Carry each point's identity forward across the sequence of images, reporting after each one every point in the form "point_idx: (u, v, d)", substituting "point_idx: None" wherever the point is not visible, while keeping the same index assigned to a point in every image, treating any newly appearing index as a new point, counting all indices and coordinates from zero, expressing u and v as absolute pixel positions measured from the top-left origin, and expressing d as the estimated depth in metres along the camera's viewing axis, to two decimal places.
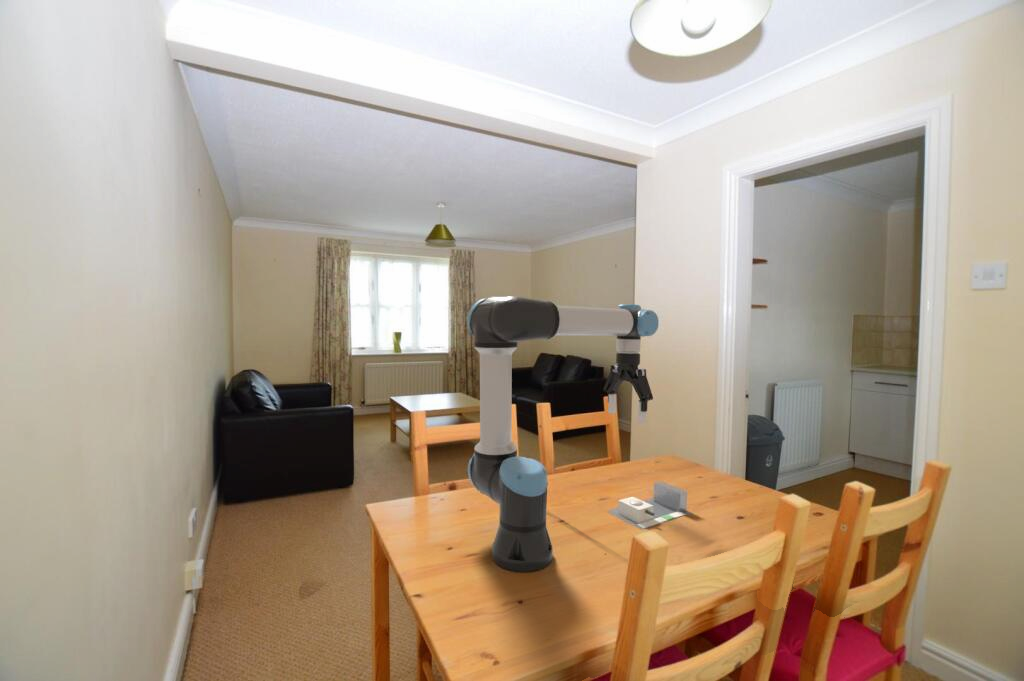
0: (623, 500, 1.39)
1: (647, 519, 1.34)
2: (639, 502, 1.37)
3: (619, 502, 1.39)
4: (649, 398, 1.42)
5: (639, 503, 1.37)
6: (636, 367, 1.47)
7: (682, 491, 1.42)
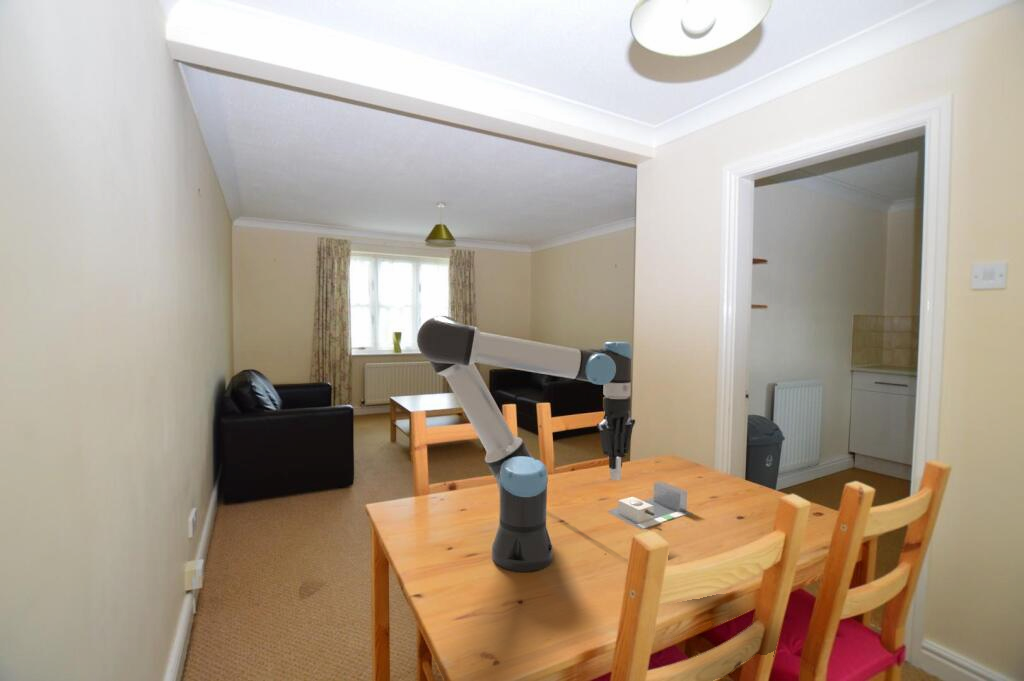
0: (623, 500, 1.39)
1: (647, 519, 1.34)
2: (639, 502, 1.37)
3: (619, 502, 1.39)
4: (605, 453, 1.30)
5: (639, 503, 1.37)
6: (607, 414, 1.29)
7: (682, 491, 1.42)
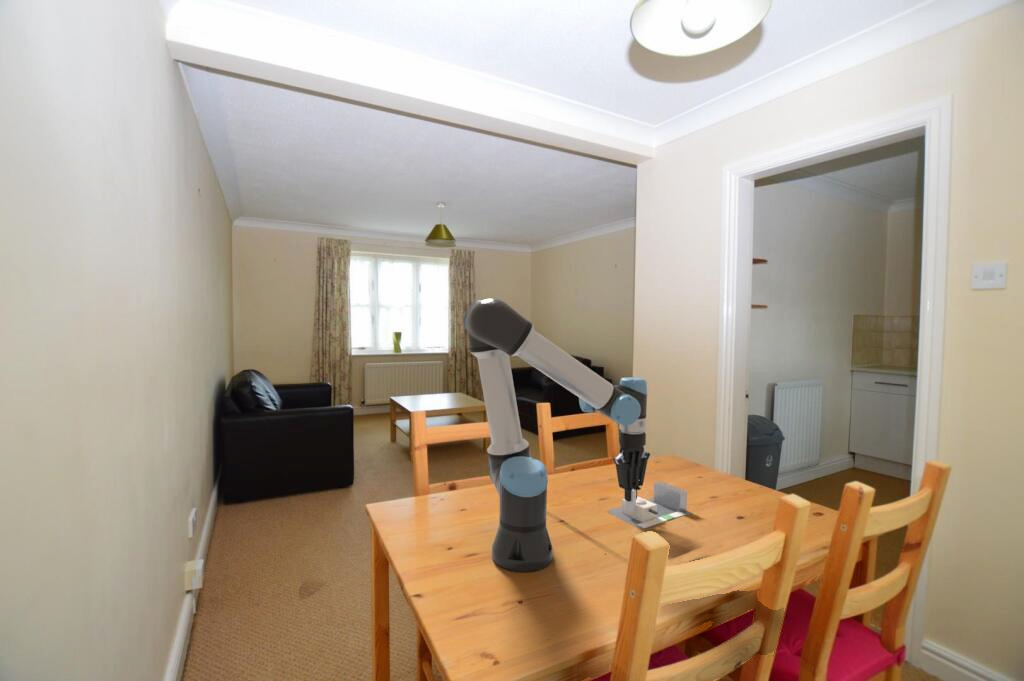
0: None
1: (650, 518, 1.35)
2: (643, 501, 1.38)
3: (623, 501, 1.39)
4: (621, 486, 1.34)
5: (642, 502, 1.37)
6: (623, 448, 1.33)
7: (682, 491, 1.42)
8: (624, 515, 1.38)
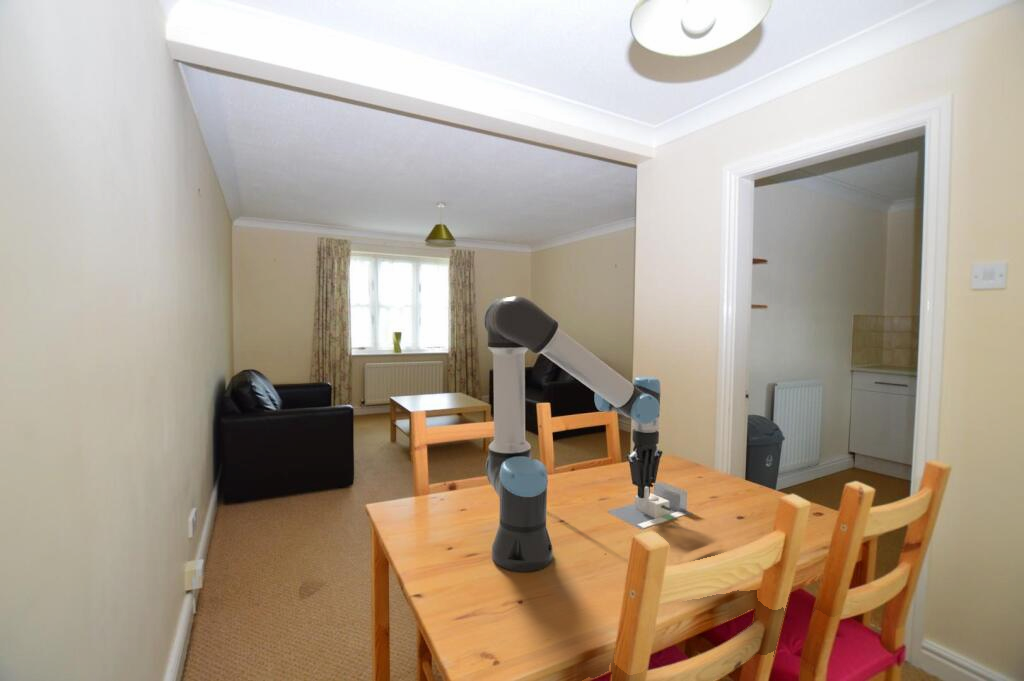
0: None
1: (663, 514, 1.38)
2: (655, 497, 1.41)
3: (636, 497, 1.42)
4: (634, 483, 1.37)
5: (655, 498, 1.40)
6: (636, 446, 1.36)
7: (682, 491, 1.42)
8: (624, 515, 1.38)
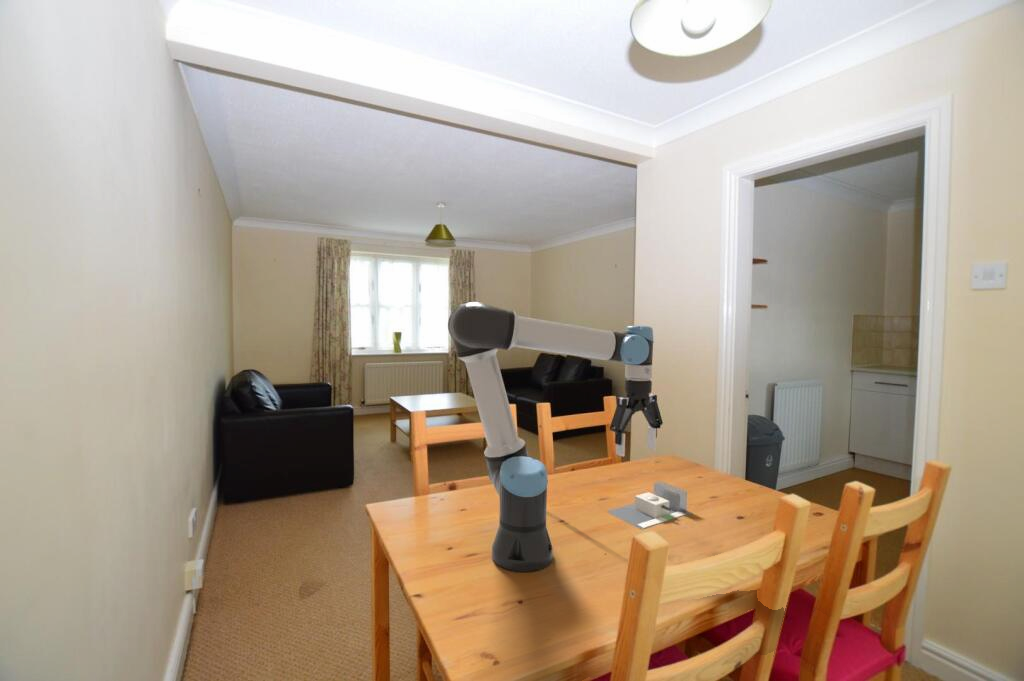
0: (639, 496, 1.43)
1: (663, 514, 1.38)
2: (655, 497, 1.41)
3: (636, 497, 1.42)
4: (611, 429, 1.31)
5: (655, 498, 1.40)
6: (629, 395, 1.33)
7: (682, 491, 1.42)
8: (624, 515, 1.38)
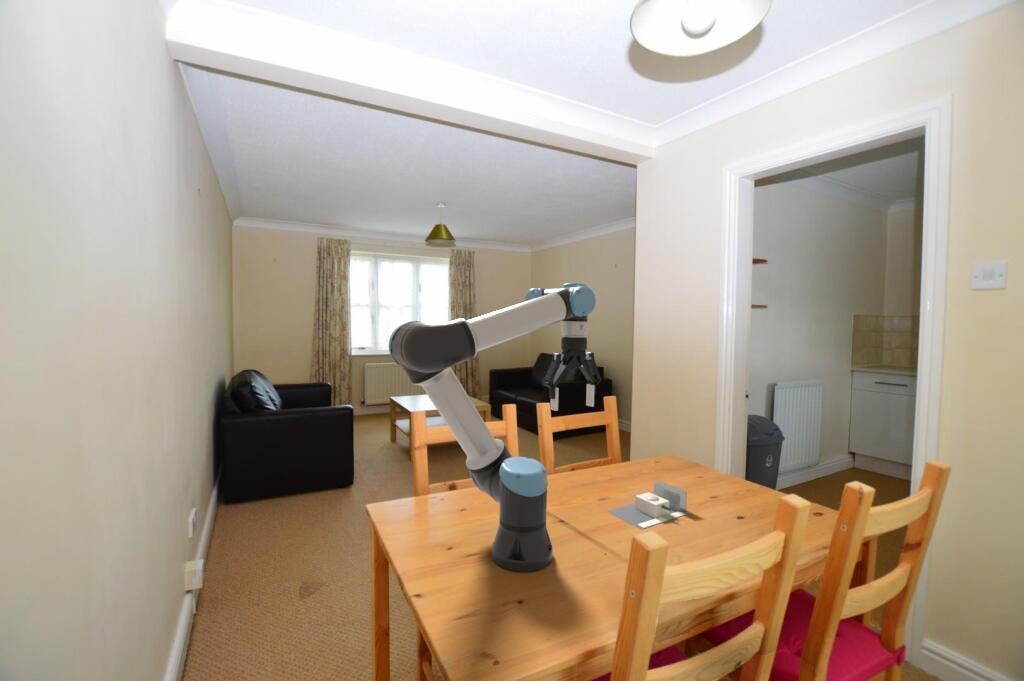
0: (639, 496, 1.43)
1: (663, 514, 1.38)
2: (655, 497, 1.41)
3: (636, 497, 1.42)
4: (545, 383, 1.32)
5: (655, 498, 1.40)
6: (564, 352, 1.35)
7: (682, 491, 1.42)
8: (624, 515, 1.38)
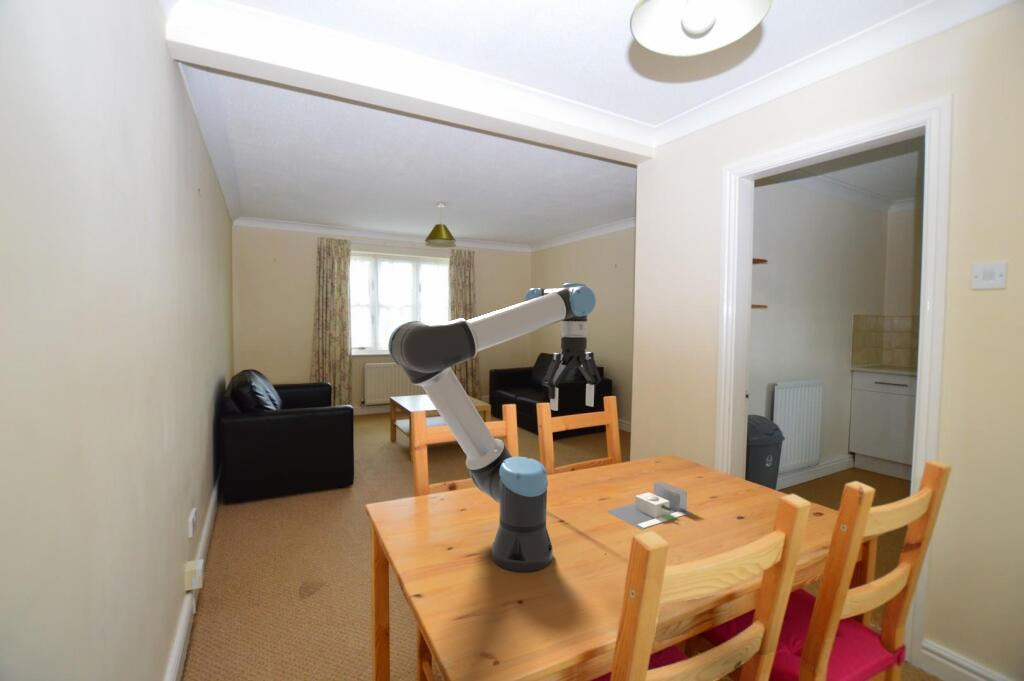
0: (639, 496, 1.43)
1: (663, 514, 1.38)
2: (655, 497, 1.41)
3: (636, 497, 1.42)
4: (544, 383, 1.32)
5: (655, 498, 1.40)
6: (563, 352, 1.35)
7: (682, 491, 1.42)
8: (624, 515, 1.38)
